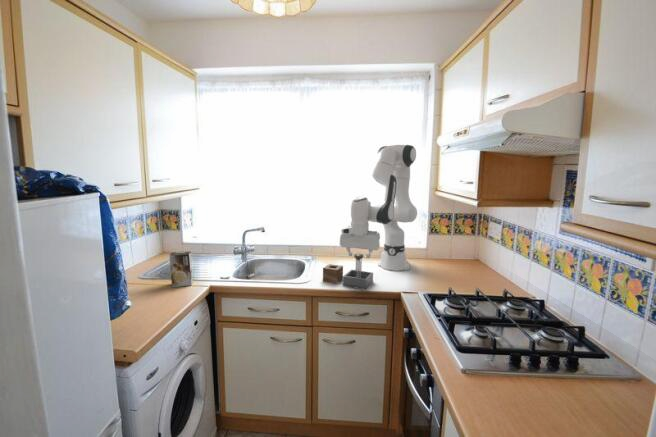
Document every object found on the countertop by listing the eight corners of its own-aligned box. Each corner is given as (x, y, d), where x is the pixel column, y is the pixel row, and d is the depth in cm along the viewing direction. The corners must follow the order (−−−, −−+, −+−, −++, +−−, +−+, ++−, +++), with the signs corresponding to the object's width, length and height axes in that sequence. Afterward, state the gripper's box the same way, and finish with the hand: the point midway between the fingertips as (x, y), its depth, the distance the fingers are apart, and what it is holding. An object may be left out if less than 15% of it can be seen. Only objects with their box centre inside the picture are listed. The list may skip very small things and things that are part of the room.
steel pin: (355, 279, 162) (355, 253, 160) (363, 281, 160) (364, 254, 158) (352, 282, 158) (352, 255, 156) (361, 284, 156) (361, 256, 154)
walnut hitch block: (329, 276, 170) (329, 264, 169) (342, 278, 167) (343, 265, 166) (322, 280, 163) (323, 268, 162) (337, 283, 160) (337, 270, 159)
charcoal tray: (351, 278, 167) (351, 269, 167) (372, 281, 162) (373, 272, 162) (342, 285, 156) (343, 276, 156) (365, 289, 152) (366, 279, 151)
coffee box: (193, 281, 161) (191, 251, 158) (191, 285, 155) (189, 254, 152) (173, 283, 158) (171, 252, 156) (171, 287, 152) (169, 255, 150)
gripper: (381, 230, 154) (381, 257, 156) (343, 227, 163) (343, 253, 165) (378, 232, 149) (377, 260, 151) (338, 229, 157) (338, 256, 159)
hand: (359, 256), depth 158 cm, fingers open, 8 cm apart
